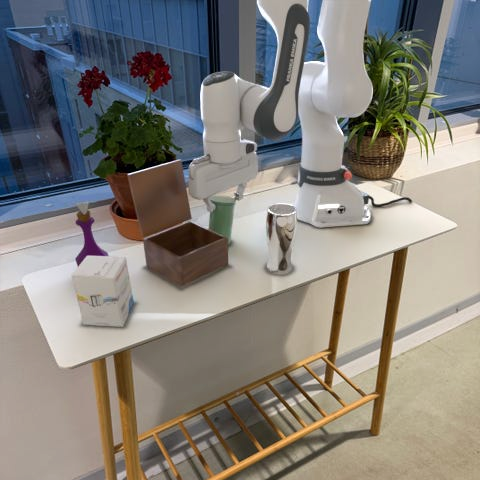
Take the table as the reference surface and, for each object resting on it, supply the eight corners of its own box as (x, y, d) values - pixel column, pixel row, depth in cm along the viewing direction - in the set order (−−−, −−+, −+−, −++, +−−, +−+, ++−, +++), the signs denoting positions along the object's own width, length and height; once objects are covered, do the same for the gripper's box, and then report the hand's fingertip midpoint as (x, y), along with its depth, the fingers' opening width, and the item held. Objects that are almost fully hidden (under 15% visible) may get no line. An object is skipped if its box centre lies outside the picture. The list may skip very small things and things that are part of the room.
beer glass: (292, 277, 113) (296, 216, 104) (262, 274, 114) (264, 214, 105) (295, 262, 118) (299, 204, 109) (267, 260, 119) (268, 202, 110)
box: (228, 266, 117) (227, 237, 112) (181, 289, 109) (179, 258, 104) (192, 248, 124) (190, 220, 120) (146, 267, 116) (142, 238, 112)
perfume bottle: (77, 270, 115) (61, 198, 105) (109, 264, 118) (96, 192, 107) (82, 285, 110) (65, 210, 99) (115, 278, 112) (102, 205, 102)
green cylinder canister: (231, 238, 129) (236, 197, 124) (231, 246, 123) (236, 204, 118) (207, 235, 129) (210, 194, 124) (205, 243, 123) (209, 201, 118)
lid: (181, 159, 113) (179, 159, 113) (129, 174, 105) (127, 174, 105) (191, 218, 119) (189, 218, 120) (143, 237, 111) (141, 236, 112)
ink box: (96, 301, 104) (86, 253, 98) (134, 303, 104) (127, 255, 97) (81, 325, 98) (69, 275, 91) (122, 328, 97) (113, 277, 90)
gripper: (197, 164, 106) (202, 222, 115) (261, 142, 117) (262, 196, 126) (179, 158, 110) (185, 214, 118) (243, 137, 121) (245, 190, 129)
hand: (225, 205), depth 122 cm, fingers open, 8 cm apart
